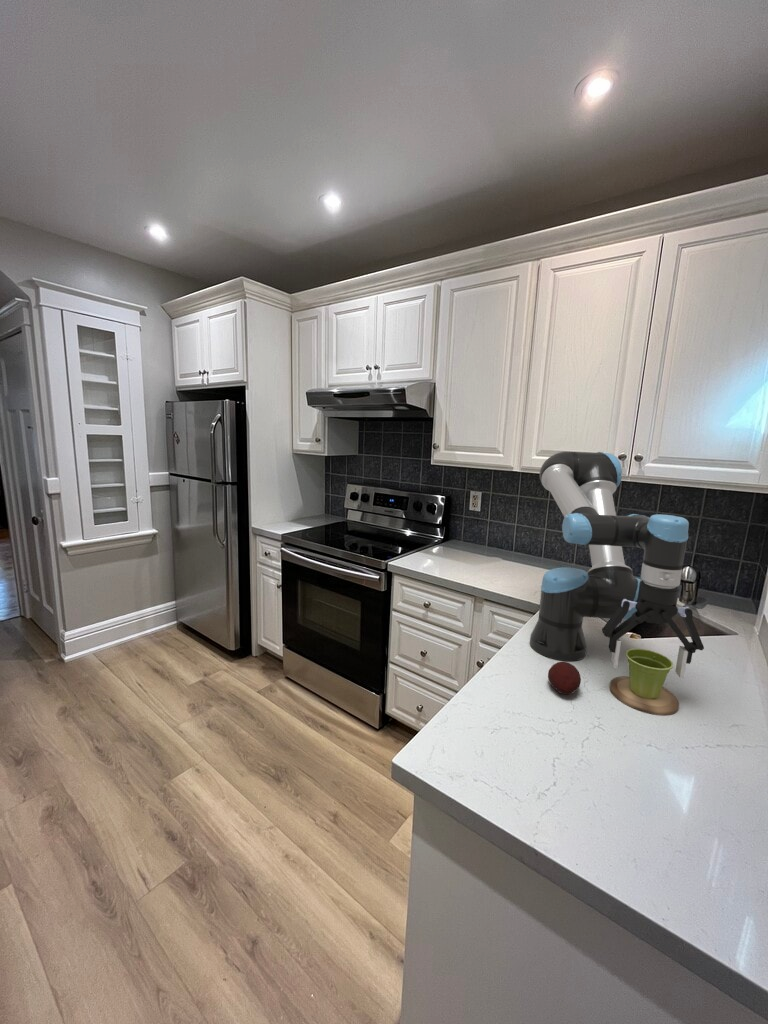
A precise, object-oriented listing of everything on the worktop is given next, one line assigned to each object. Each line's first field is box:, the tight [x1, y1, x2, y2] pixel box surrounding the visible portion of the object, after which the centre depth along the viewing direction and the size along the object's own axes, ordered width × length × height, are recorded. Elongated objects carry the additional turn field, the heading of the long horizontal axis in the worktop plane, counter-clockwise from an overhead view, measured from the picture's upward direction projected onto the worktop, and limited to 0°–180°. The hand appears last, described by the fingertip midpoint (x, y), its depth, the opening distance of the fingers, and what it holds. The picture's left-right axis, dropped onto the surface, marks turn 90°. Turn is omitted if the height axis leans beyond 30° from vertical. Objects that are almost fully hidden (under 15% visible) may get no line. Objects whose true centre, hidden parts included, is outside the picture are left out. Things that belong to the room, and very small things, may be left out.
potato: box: [547, 661, 582, 695], centre depth 101 cm, size 7×10×6 cm
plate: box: [609, 675, 680, 716], centre depth 100 cm, size 14×14×1 cm
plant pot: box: [625, 648, 674, 699], centre depth 99 cm, size 9×9×9 cm
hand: (646, 669), depth 99 cm, fingers open, 13 cm apart
